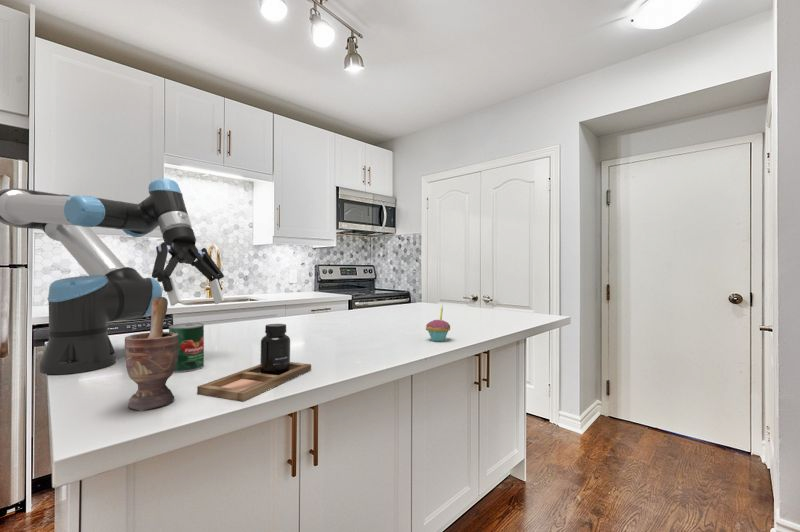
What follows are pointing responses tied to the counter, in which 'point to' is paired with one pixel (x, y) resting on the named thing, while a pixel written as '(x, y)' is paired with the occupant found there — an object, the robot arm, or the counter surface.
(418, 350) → the counter surface
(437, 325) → the cupcake
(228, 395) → the divided wooden tray
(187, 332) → the canned tomato
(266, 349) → the supplement bottle
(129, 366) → the mortar and pestle
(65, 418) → the counter surface
